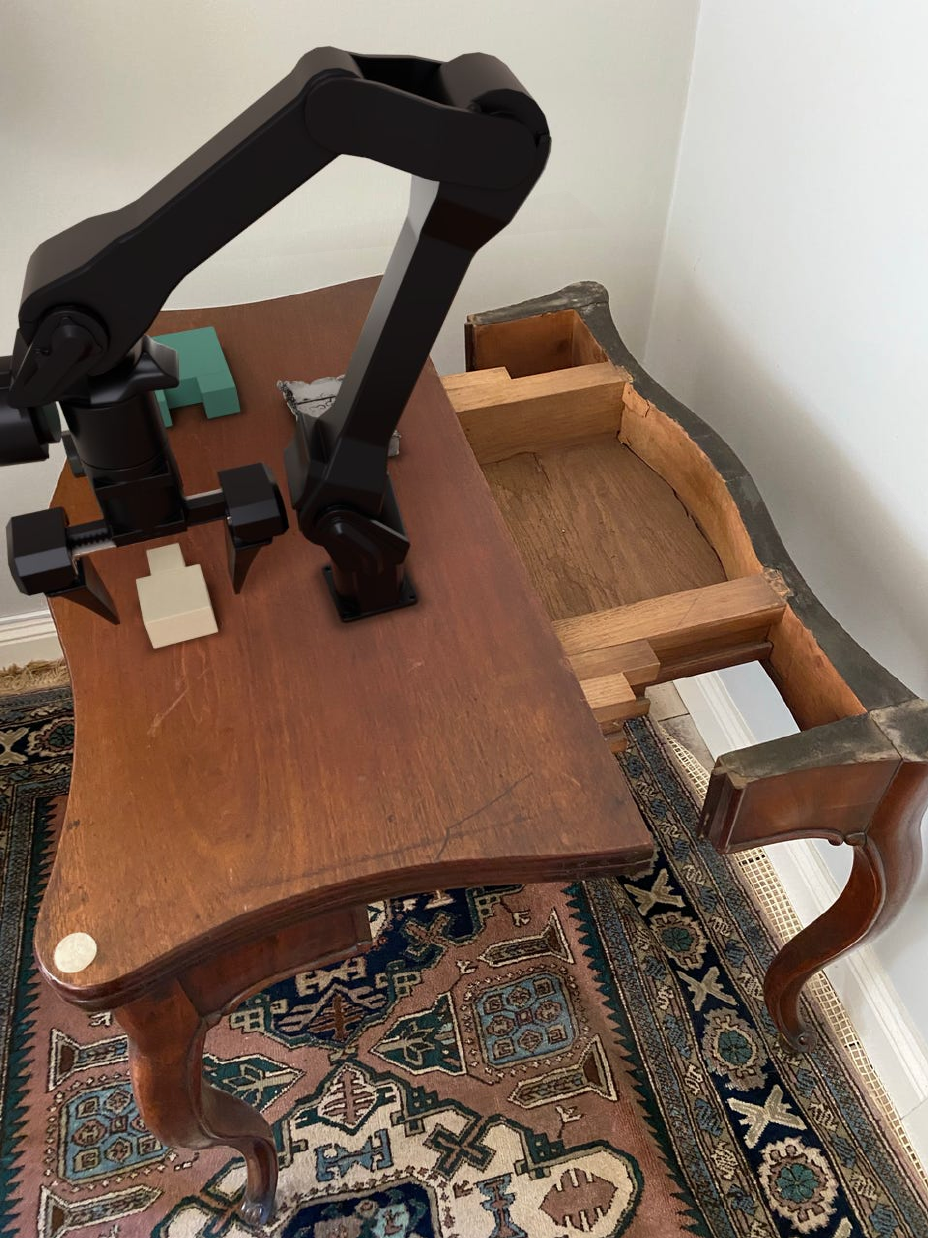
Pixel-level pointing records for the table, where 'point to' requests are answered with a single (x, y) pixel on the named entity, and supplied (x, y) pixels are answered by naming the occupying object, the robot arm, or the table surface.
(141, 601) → the cream tabbed block
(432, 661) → the table surface
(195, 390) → the teal pad
